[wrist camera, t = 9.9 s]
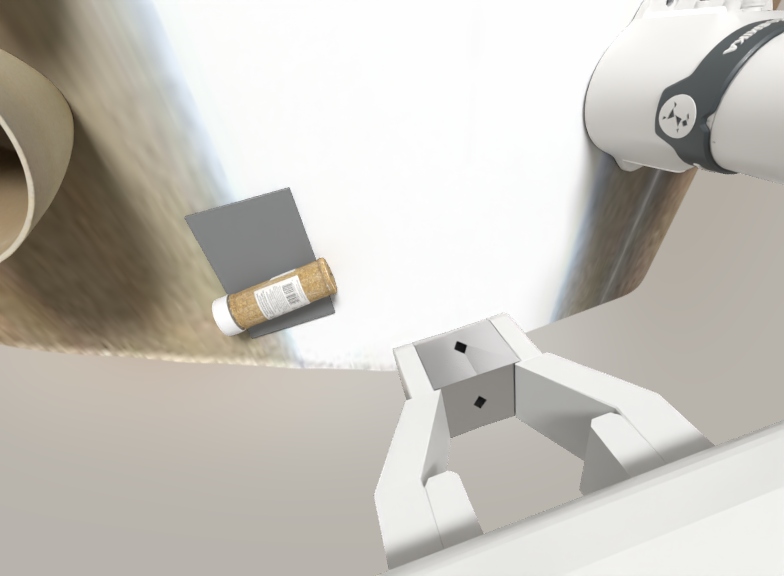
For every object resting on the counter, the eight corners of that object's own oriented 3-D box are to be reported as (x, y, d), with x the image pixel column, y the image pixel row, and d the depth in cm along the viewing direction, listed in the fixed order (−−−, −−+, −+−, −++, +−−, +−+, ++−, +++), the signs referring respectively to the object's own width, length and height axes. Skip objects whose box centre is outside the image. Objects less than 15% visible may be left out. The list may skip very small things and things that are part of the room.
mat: (289, 187, 40) (289, 188, 39) (334, 310, 50) (335, 312, 49) (185, 216, 39) (184, 218, 39) (252, 336, 49) (252, 338, 48)
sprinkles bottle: (322, 250, 44) (213, 293, 44) (325, 267, 41) (207, 314, 40) (336, 281, 47) (233, 322, 46) (341, 300, 43) (229, 345, 42)
